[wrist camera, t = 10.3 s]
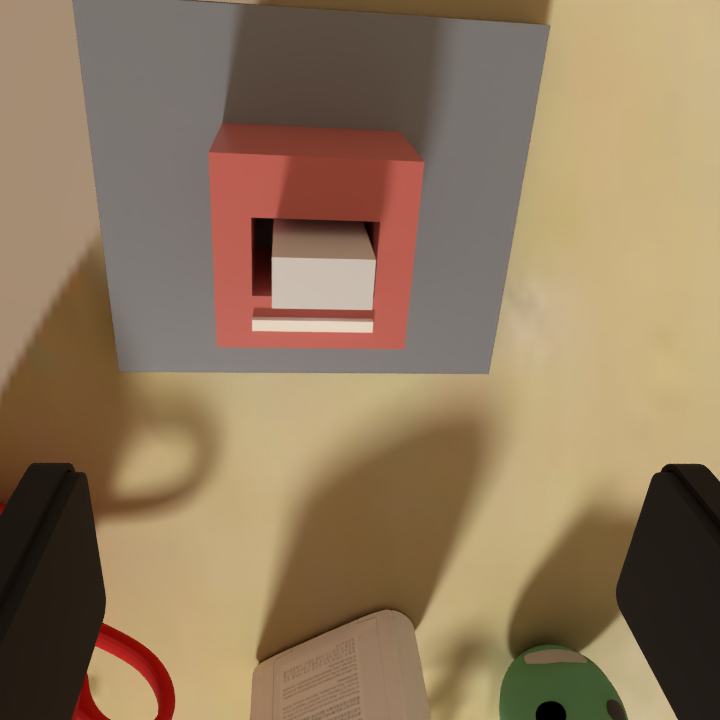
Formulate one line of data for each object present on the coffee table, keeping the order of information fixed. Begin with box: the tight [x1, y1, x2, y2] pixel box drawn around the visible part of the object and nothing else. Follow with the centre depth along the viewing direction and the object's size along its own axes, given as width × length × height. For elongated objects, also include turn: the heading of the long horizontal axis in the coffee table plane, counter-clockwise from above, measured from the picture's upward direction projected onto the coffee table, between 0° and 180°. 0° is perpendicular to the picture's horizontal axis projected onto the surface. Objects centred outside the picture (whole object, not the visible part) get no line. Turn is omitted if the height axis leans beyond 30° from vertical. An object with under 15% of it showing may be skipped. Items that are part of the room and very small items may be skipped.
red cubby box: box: [208, 123, 424, 349], centre depth 24 cm, size 6×6×5 cm
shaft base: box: [72, 0, 550, 374], centre depth 23 cm, size 16×14×8 cm
